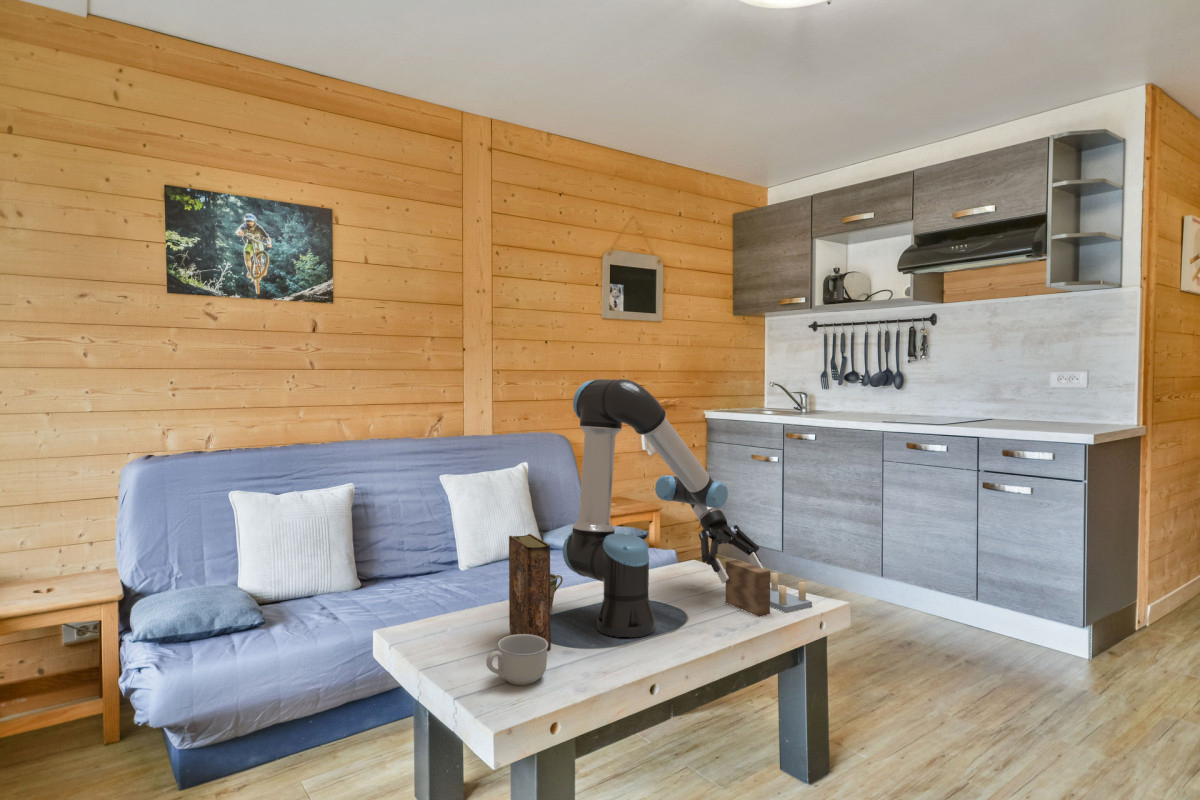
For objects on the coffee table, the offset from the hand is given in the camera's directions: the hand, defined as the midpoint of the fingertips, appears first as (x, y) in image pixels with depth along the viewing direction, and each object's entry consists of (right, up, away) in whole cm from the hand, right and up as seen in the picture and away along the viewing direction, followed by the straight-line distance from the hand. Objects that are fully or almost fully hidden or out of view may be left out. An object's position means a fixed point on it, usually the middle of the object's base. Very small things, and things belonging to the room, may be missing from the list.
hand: (744, 577), depth 198 cm
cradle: (+10, -8, +2) cm, 13 cm away
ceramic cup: (-57, -8, -5) cm, 58 cm away
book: (-58, -9, -28) cm, 65 cm away
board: (0, -8, -3) cm, 9 cm away
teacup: (-59, -9, -51) cm, 78 cm away
